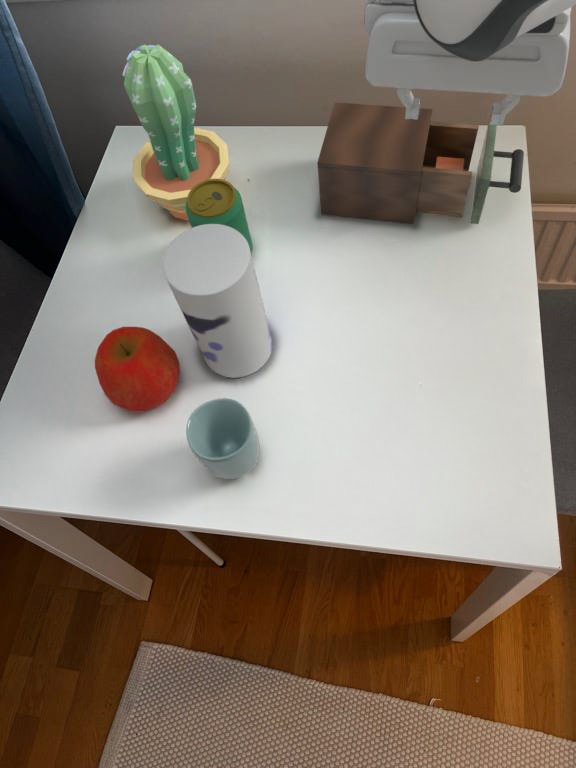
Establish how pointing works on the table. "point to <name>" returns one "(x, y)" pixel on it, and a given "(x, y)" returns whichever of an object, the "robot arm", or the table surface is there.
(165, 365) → the apple
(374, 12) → the robot arm
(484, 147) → the drawer
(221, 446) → the cup
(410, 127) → the cabinet
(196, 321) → the container
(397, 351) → the table surface
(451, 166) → the block
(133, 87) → the potted cactus
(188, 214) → the beverage can
